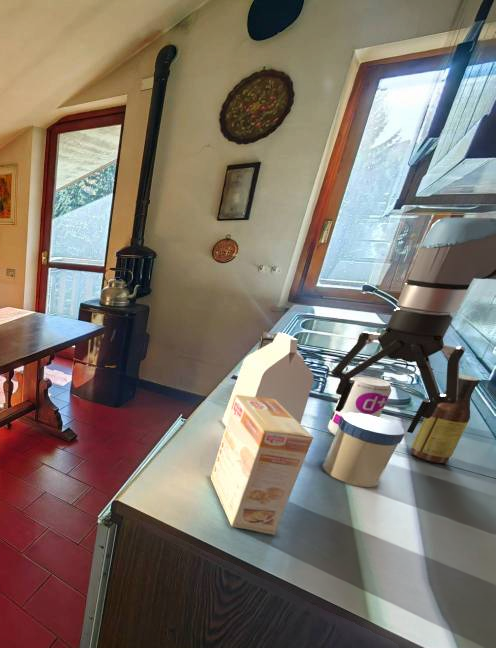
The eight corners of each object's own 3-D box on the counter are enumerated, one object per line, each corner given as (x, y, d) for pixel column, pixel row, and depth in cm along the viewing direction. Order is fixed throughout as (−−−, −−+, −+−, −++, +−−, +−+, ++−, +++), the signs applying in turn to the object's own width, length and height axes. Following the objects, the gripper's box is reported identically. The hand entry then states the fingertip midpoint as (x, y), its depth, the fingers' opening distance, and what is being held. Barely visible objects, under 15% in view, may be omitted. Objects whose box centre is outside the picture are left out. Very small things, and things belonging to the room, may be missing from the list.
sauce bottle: (455, 463, 88) (501, 382, 80) (432, 465, 87) (477, 384, 79) (420, 448, 94) (461, 371, 86) (399, 450, 93) (438, 373, 85)
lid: (404, 435, 79) (409, 425, 78) (395, 450, 74) (400, 440, 73) (344, 417, 86) (348, 408, 85) (332, 430, 80) (336, 420, 80)
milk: (221, 421, 105) (248, 327, 95) (269, 426, 103) (301, 331, 93) (239, 444, 94) (271, 341, 84) (292, 450, 92) (332, 345, 82)
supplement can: (375, 445, 95) (402, 389, 89) (334, 439, 97) (357, 384, 92) (359, 430, 102) (382, 377, 96) (321, 424, 104) (342, 372, 99)
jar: (382, 477, 83) (406, 427, 78) (372, 493, 78) (397, 441, 73) (329, 457, 89) (349, 411, 85) (316, 471, 84) (337, 422, 80)
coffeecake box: (276, 536, 67) (316, 437, 59) (230, 527, 68) (262, 430, 61) (247, 484, 80) (276, 398, 72) (209, 477, 82) (233, 393, 74)
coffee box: (249, 375, 138) (262, 331, 131) (270, 379, 134) (285, 334, 128) (248, 383, 131) (262, 337, 124) (271, 388, 127) (287, 340, 121)
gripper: (526, 320, 64) (459, 437, 72) (348, 298, 80) (310, 395, 89) (526, 327, 59) (454, 450, 68) (338, 302, 76) (299, 403, 85)
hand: (373, 419), depth 79 cm, fingers open, 10 cm apart
